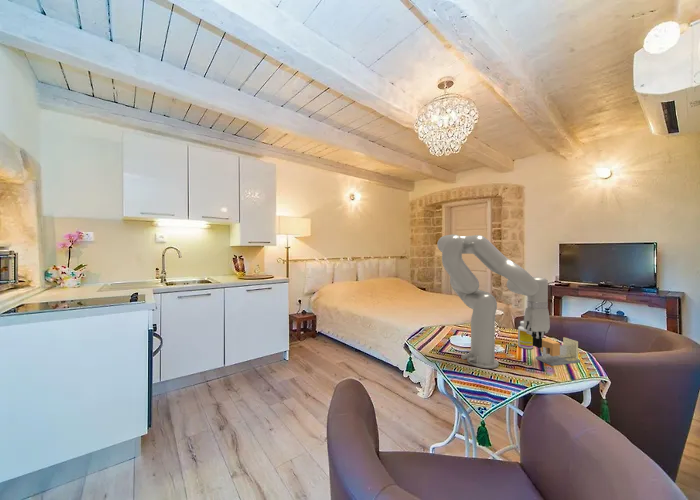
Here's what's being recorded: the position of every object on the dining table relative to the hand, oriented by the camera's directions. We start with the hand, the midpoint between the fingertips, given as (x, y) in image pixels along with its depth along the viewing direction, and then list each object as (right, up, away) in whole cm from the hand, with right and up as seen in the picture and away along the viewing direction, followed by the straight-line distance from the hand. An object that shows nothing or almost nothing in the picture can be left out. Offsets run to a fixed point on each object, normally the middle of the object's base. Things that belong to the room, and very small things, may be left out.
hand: (537, 346), depth 125 cm
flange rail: (+11, -7, +3) cm, 14 cm away
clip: (+7, -4, +2) cm, 8 cm away
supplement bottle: (+7, -8, +21) cm, 23 cm away
